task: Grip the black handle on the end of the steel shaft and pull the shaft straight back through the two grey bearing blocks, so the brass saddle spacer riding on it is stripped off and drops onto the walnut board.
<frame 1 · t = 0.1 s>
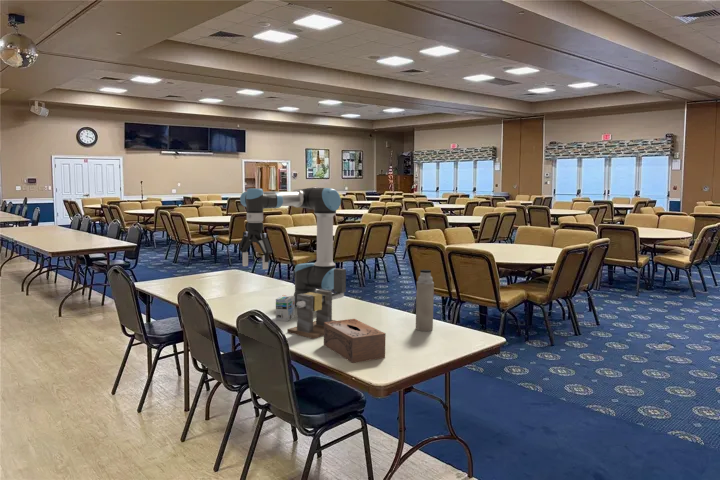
hand: (255, 267, 257), 28 cm above the table, tool pointing down, fingers open, 13 cm apart
light bulb box: (285, 318, 277), on the table
thermos bottle: (424, 329, 260), on the table
tissue box cover: (353, 352, 225), on the table
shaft: (321, 287, 255), point 20 cm above the table, slide at 0.0 cm, touching spacer
shaft stand: (316, 330, 255), on the table
spacer: (312, 309, 251), point 10 cm above the table, touching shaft
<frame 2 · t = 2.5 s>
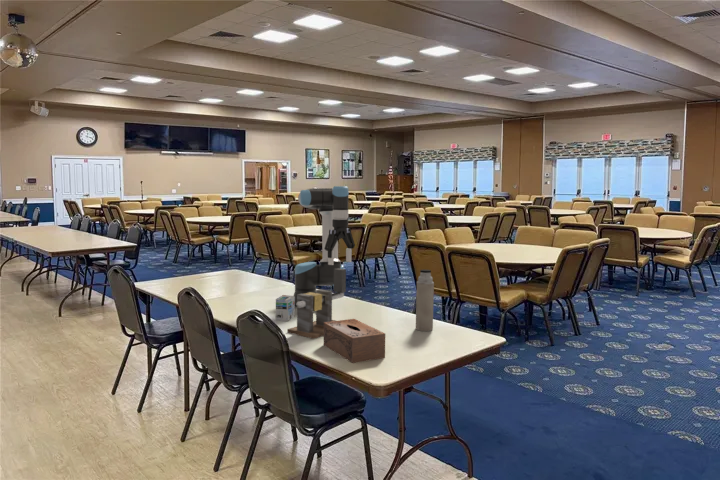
hand: (340, 263, 265), 29 cm above the table, tool pointing down, fingers open, 13 cm apart
nothing on the table moved.
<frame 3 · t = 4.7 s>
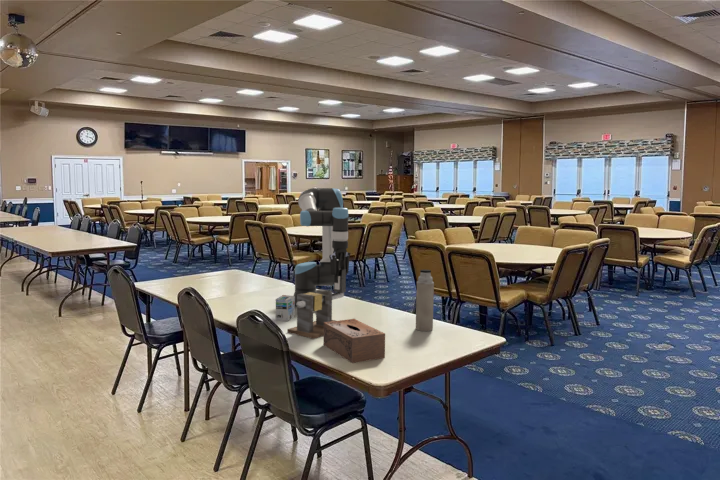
hand: (339, 288, 266), 17 cm above the table, tool pointing down, fingers closed on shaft, 3 cm apart
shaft: (321, 287, 255), point 20 cm above the table, slide at 0.0 cm, touching gripper, spacer
everything else where it was.
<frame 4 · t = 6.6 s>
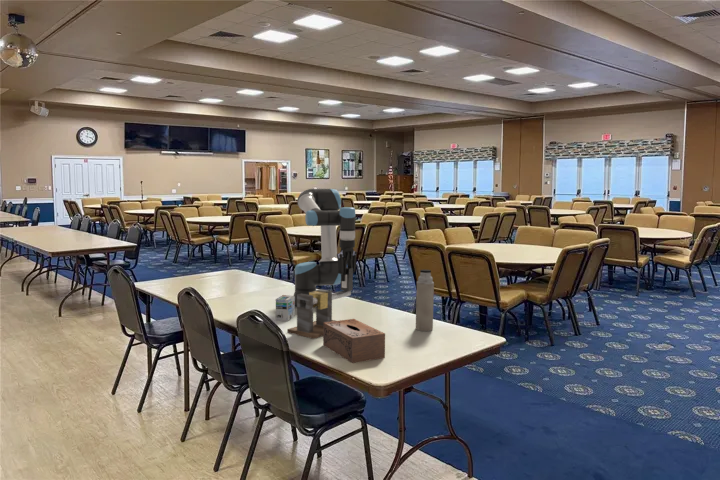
hand: (346, 286, 271), 17 cm above the table, tool pointing down, fingers closed on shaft, 3 cm apart
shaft: (328, 286, 260), point 20 cm above the table, slide at 5.5 cm, touching gripper, spacer
spacer: (318, 307, 255), point 11 cm above the table, touching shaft, shaft stand
everything else where it was.
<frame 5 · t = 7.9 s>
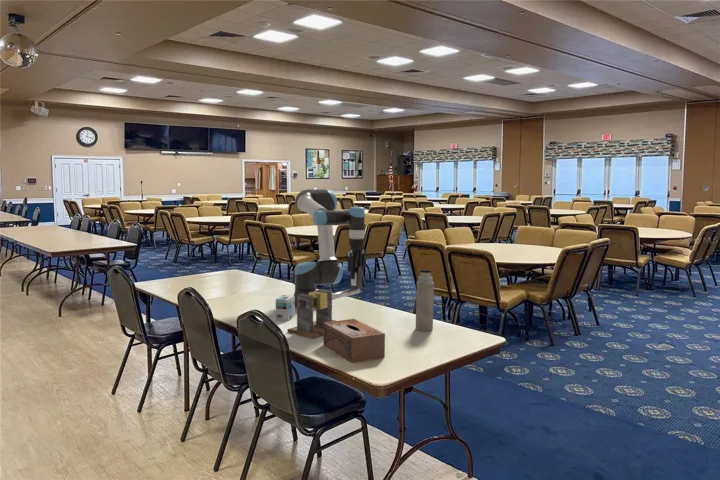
hand: (356, 284, 277), 17 cm above the table, tool pointing down, fingers closed on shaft, 3 cm apart
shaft: (339, 283, 266), point 19 cm above the table, slide at 13.0 cm, touching gripper
spacer: (318, 307, 255), point 11 cm above the table, touching shaft stand
everything else where it was.
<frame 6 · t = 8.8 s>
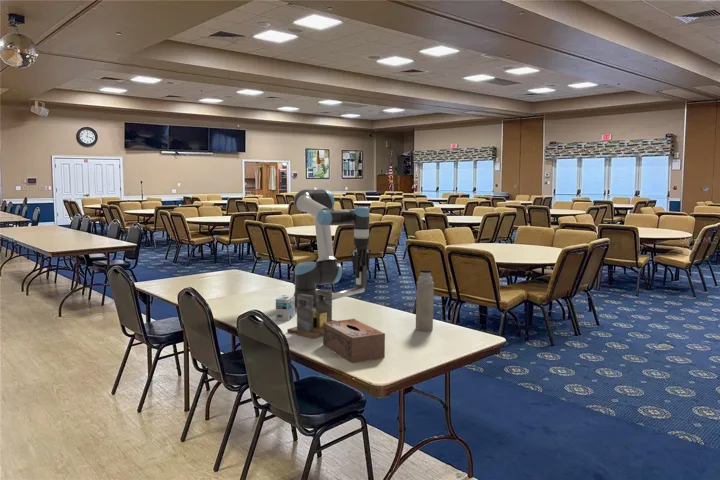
hand: (360, 283, 280), 17 cm above the table, tool pointing down, fingers closed on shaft, 3 cm apart
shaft: (344, 282, 269), point 19 cm above the table, slide at 16.9 cm, touching gripper
spacer: (317, 327, 255), point 1 cm above the table, touching shaft stand
everything else where it was.
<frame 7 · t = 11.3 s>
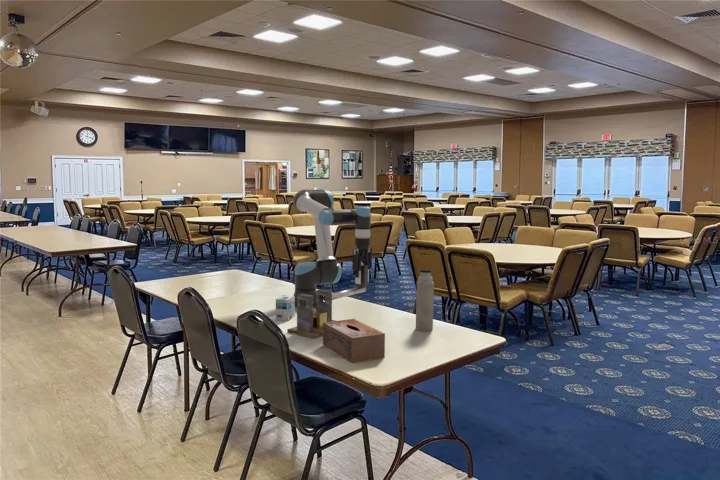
hand: (362, 282, 281), 17 cm above the table, tool pointing down, fingers open, 6 cm apart
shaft: (345, 282, 270), point 20 cm above the table, slide at 18.0 cm
everything else where it was.
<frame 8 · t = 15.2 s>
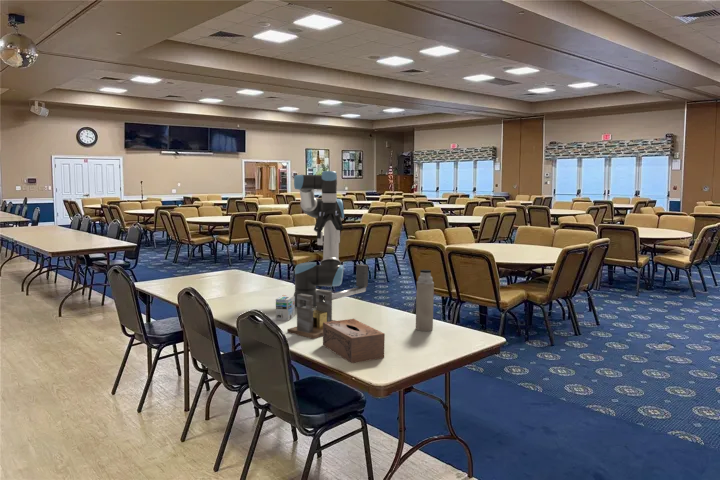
hand: (328, 243, 281), 37 cm above the table, tool pointing down, fingers open, 13 cm apart
nothing on the table moved.
at the end: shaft slide at 18.0 cm; spacer inside the target area on the shaft stand (0.5 cm from its centre), point 1.5 cm above the shaft stand's base; spacer touching shaft stand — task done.
